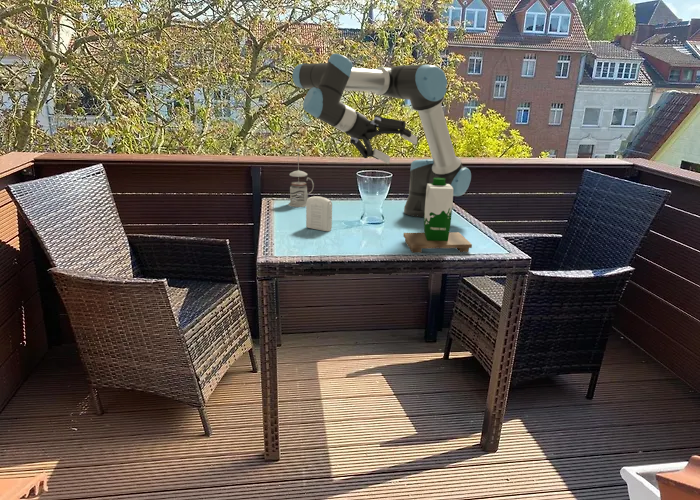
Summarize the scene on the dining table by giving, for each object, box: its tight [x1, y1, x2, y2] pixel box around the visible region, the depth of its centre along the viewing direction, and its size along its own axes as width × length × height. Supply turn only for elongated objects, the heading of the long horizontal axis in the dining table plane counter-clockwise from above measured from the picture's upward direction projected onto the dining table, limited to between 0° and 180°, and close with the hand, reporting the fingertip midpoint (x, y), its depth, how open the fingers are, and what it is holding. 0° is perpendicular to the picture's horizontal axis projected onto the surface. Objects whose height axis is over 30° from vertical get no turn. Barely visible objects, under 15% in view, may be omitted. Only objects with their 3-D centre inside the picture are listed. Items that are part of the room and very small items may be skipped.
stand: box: [402, 231, 473, 254], centre depth 168 cm, size 20×14×3 cm
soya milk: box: [423, 177, 454, 241], centre depth 165 cm, size 9×9×20 cm
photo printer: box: [305, 195, 333, 232], centre depth 184 cm, size 10×4×12 cm, turn 61°
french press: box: [287, 148, 315, 208], centre depth 219 cm, size 10×12×25 cm
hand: (402, 150), depth 162 cm, fingers open, 13 cm apart
